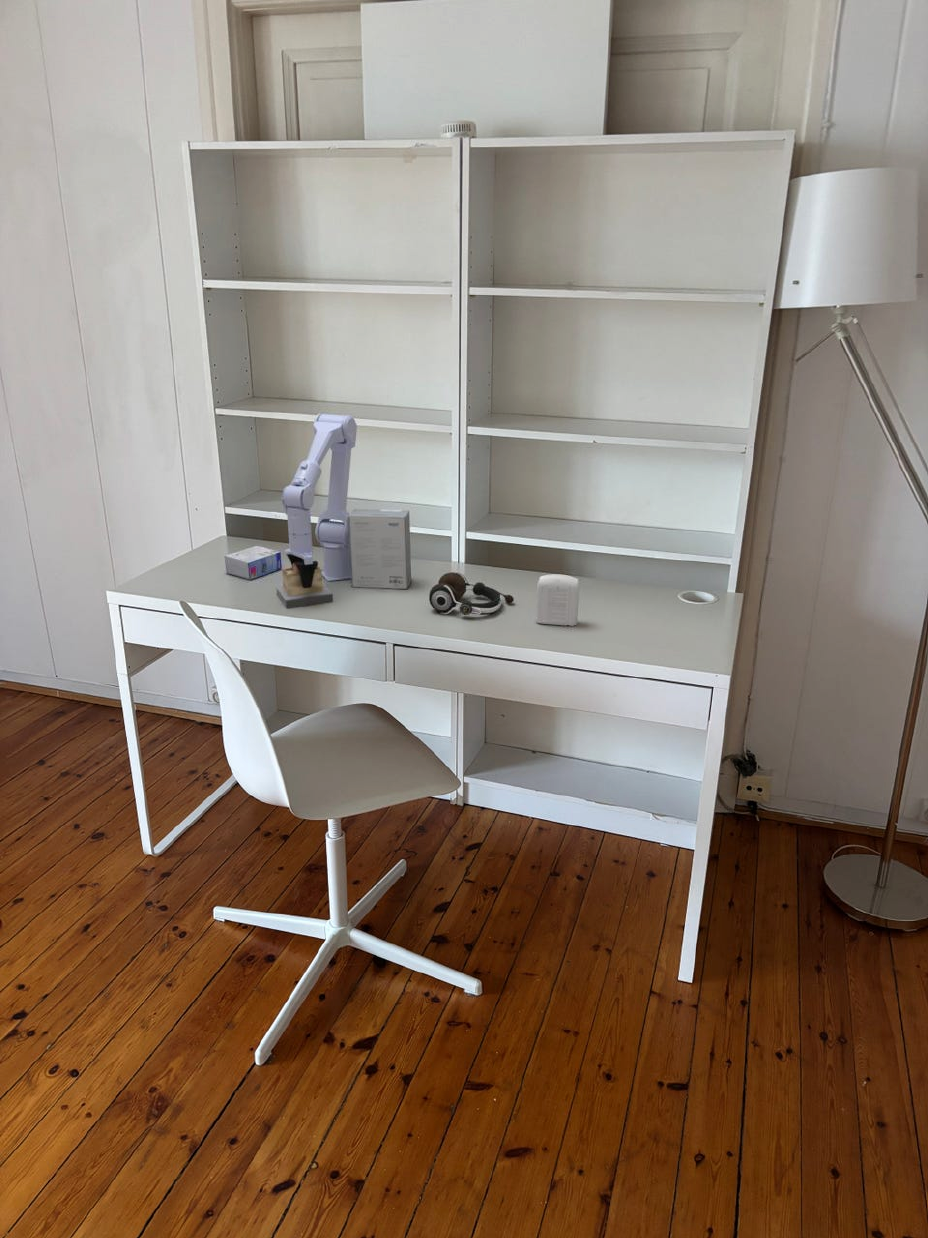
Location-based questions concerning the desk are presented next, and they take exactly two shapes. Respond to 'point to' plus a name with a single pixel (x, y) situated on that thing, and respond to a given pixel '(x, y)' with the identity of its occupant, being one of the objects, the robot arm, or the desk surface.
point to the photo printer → (557, 600)
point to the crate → (295, 568)
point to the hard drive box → (380, 548)
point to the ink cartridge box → (253, 562)
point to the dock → (305, 598)
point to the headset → (455, 587)
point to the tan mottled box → (294, 584)
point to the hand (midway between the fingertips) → (303, 582)
